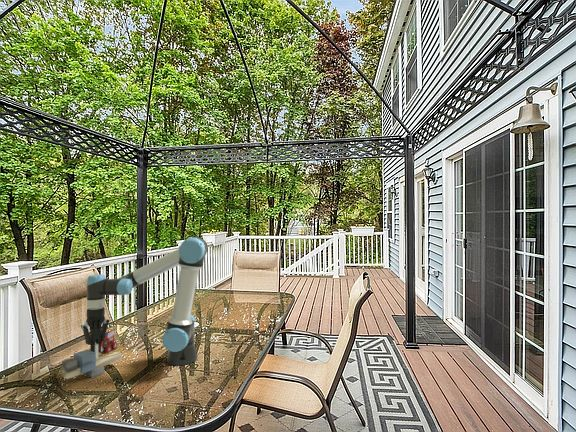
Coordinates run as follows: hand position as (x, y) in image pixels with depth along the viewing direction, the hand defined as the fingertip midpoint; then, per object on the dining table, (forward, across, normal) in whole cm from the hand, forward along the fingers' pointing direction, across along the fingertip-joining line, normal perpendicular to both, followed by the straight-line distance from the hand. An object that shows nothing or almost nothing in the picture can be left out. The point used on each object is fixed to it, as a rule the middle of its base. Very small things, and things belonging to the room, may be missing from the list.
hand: (95, 357), depth 167 cm
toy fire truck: (+8, -20, -24) cm, 32 cm away
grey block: (+4, +5, 0) cm, 6 cm away
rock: (+8, -5, -14) cm, 17 cm away
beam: (+7, 0, 0) cm, 7 cm away
